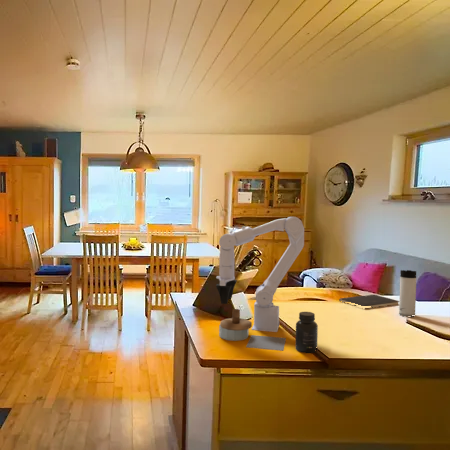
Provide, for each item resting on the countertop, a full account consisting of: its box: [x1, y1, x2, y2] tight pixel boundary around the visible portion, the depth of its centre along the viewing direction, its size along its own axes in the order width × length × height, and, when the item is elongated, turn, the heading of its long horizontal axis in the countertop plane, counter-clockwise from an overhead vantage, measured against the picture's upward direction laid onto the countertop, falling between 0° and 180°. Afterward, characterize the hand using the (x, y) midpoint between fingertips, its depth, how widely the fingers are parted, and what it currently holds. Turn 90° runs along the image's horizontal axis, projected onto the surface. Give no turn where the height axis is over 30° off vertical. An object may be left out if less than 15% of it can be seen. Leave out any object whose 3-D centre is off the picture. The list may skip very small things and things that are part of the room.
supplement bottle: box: [295, 311, 319, 354], centre depth 119 cm, size 7×7×12 cm
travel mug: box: [398, 269, 417, 317], centre depth 161 cm, size 6×7×20 cm
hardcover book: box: [338, 294, 399, 308], centre depth 183 cm, size 16×23×2 cm
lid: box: [219, 308, 253, 331], centre depth 131 cm, size 11×11×6 cm
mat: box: [245, 334, 287, 352], centre depth 125 cm, size 12×12×1 cm
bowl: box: [218, 324, 250, 342], centre depth 132 cm, size 10×10×4 cm
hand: (226, 301), depth 142 cm, fingers open, 7 cm apart
